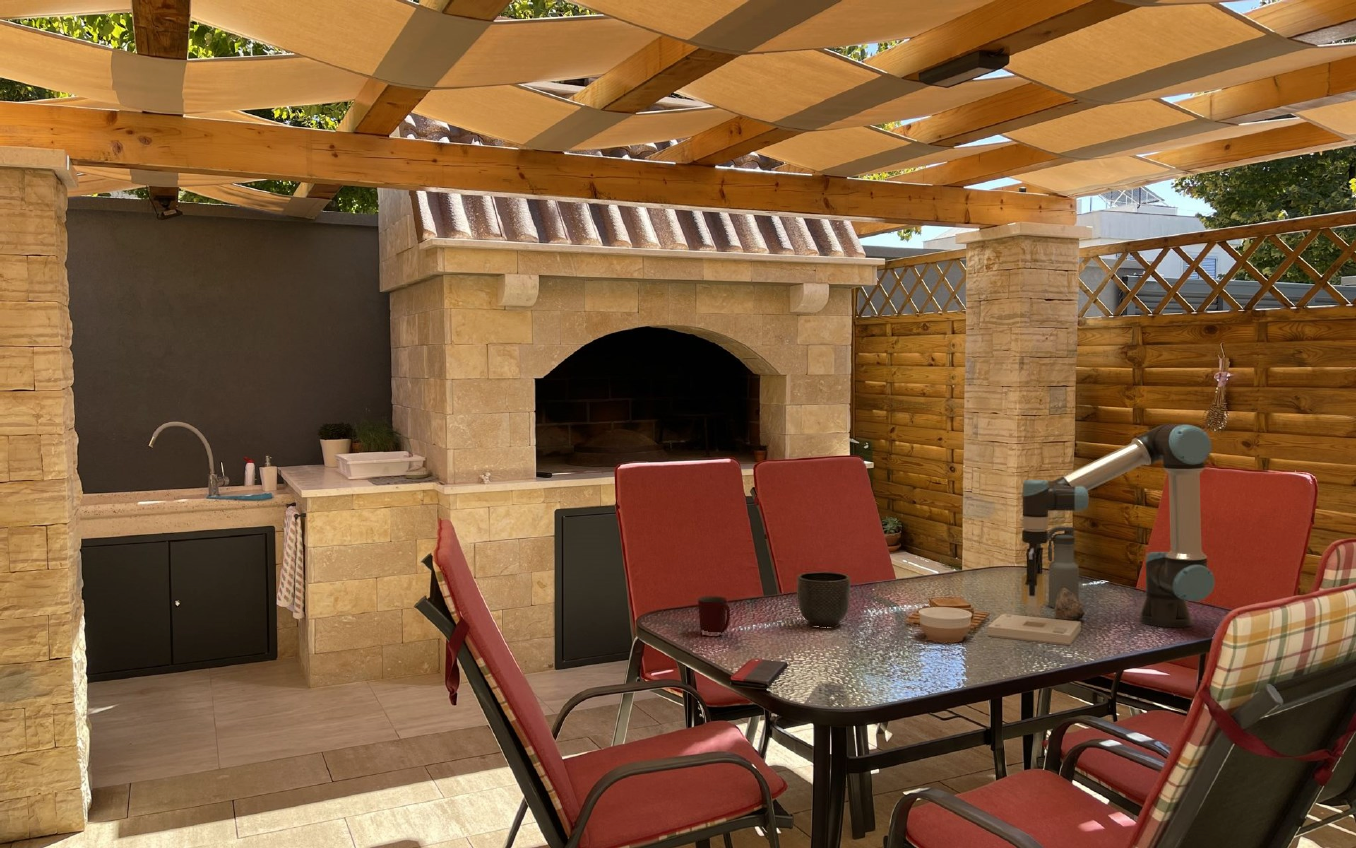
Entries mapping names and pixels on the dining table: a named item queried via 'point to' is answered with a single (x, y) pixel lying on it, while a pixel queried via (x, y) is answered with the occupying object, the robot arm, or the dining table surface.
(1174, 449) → the robot arm
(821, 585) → the planter
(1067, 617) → the rock
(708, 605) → the mug
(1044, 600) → the plug
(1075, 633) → the socket plate
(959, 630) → the bowl
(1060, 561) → the water bottle
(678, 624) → the dining table surface
